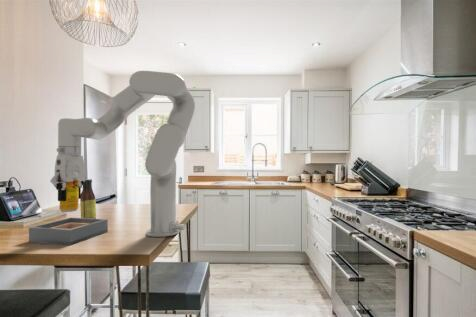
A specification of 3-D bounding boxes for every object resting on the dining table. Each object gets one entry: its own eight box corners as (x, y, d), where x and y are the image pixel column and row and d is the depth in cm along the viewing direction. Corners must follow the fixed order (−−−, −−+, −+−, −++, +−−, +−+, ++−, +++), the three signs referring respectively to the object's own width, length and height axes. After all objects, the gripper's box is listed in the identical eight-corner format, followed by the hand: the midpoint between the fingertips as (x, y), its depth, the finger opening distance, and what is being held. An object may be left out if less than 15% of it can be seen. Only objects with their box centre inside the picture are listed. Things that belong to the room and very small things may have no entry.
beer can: (70, 212, 104) (70, 171, 104) (55, 211, 105) (55, 171, 105) (82, 209, 110) (82, 170, 110) (68, 209, 111) (68, 170, 111)
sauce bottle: (99, 221, 135) (98, 178, 135) (91, 224, 128) (90, 179, 128) (86, 221, 135) (85, 179, 135) (77, 223, 129) (76, 179, 129)
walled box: (107, 231, 114) (107, 219, 114) (70, 245, 96) (70, 230, 96) (70, 229, 118) (70, 217, 118) (28, 241, 101) (28, 227, 101)
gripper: (58, 151, 98) (57, 203, 98) (95, 152, 115) (94, 197, 115) (40, 151, 100) (40, 202, 100) (79, 152, 117) (79, 196, 117)
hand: (69, 199), depth 107 cm, fingers closed on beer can, 5 cm apart
